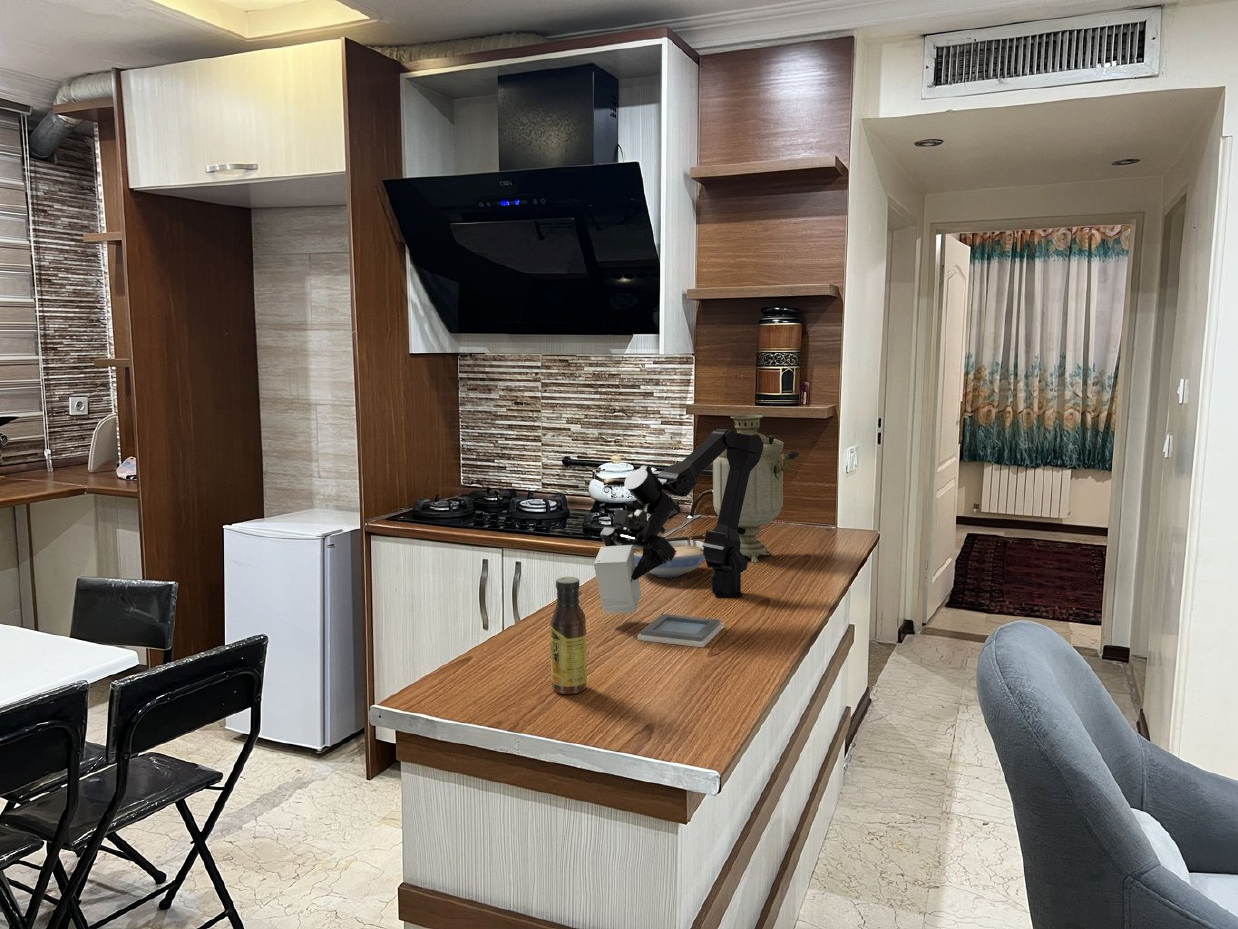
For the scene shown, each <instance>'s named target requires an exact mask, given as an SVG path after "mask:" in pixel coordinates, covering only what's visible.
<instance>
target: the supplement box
mask: <svg viewBox="0 0 1238 929" xmlns="http://www.w3.org/2000/svg"><path fill="white" fill-rule="evenodd" d="M593 568H594V571H595V577H596V578H595V579H596V582H597V587H598V592H599V597H600V598H599V599H600V602H601V608H602V611H603V614H632V613H633V614H634V613H636V612H637V608H638V604H639V601H640V598H641V596H642V589H641V584H640V579H639V578H640V577H639V578H638V579H636V580H633V579H632V578H631V576H632V574H633V572H634V570H635V568H636V561H635V556H634V551H633V545H623V546H600V548H599V551H598V553H597V555H596V558H595V560H594V562H593Z"/></svg>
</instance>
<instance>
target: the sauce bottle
mask: <svg viewBox="0 0 1238 929" xmlns="http://www.w3.org/2000/svg"><path fill="white" fill-rule="evenodd" d="M580 585H581V584H580V579H579V578H578V577H574V576H563V577H562V576H561V577H559V578H558V579H556V580H555V587H556V605H555V608H554V611H553V614H552V618H551V621H550V626H549V627H550V628H549V632H550V634H549V636H550V638H549V639H550V680H551V687H552V689H553V690H554V691H555V692H556V693H557V694H561V695H562V694H563V695H572V694H573V695H575V694H580V693H582V692H583V691H584V690H585V689H586V687H587V681H588V670H587V669H588V668H587V666H588V665H587V664H588V663H587V662H588V661H587V658H588V656H587V654H588V653H587V630H586V629H587V627H586V623H587V622H586V615H585V612H584V610H583V609H582V608H581V606H580V605H579V604H580V600H579V590H580Z"/></svg>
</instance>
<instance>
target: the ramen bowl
mask: <svg viewBox="0 0 1238 929" xmlns="http://www.w3.org/2000/svg"><path fill="white" fill-rule="evenodd" d="M666 540H667V541H668V542H669V543H670V544H671V545H672V546H673V548H674V549H675V556H674V557H673V559H672V561H671V562H668V561H666V564H662V565H660V566H658V567H656V568H654V569H652V570H651V571H649V572H648V574H652V575H653V576H655V577H658V578H667V579H668V578H678V577H680V576H682V575H684V574H686V573H689V572H693V571H695V570H696V569H697V568H698V567H700V565H702V563H703V562H704V561H706V560H705V556H704V555H703V548H704V547H702V545H703V543H704V541H701V540H705V536H704V535H702V534H699V535H688V536H680V537H671V538H670V537H669V538H666ZM633 551H634V556H635V561H636V566H637V564H638V563H639V561H640V559H641V557H642V555H643V548H639V547H634V546H633Z"/></svg>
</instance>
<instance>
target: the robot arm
mask: <svg viewBox="0 0 1238 929" xmlns="http://www.w3.org/2000/svg"><path fill="white" fill-rule="evenodd" d="M763 447H764V443H763V442H762V439H761V437H760V436H759V435H757V434H747V433H737V431H732V430H731V429H720V428H716V429H714V430H712V432H711V433H710V435H709V436H708V437H706V439H705V440H704V441H703V442H702V443H700V444H699V445H698V446H697V447H696V448H695V449H693V451H692V452H691V453H689V455H687V456H686V457H685V458H683V460H680V461H679V462H675V463H673V464H671V465H669V466H667V467H665V468H664V469H662V470H661V471H660V472H659V474H657V475H656V474H654V471H653V470H652V469H651V467H650V466H649V465H644V464H643V465H641V466H640V467H639V469H635V470H633V471H632V472H631V473H630V474H628V475H627V476H626V478H625V480H624V487H625V488H626V489H627V491H629V493H630V494H631V495H632V496H633V498H635V500H636V501H637V502H638V503H639V504H640V505H644V507H643V509H635V511H629V510H624V509H618V508H616V511H615V514H614V516H613V520H612V524H614V525H619V526H621V527H623V529H622V530H623V531H624V532H625V533H626V534H627V535H626V534H625V533H624V532H623V531H622V530H621V528H619V527H614V526H610V525H609V526H604V527H603V529H602V531H601V532H600V534H599V535H600V537H601V540H602V541H603V543H604V545H605V546H623V545H633V546H634V547H639V548H643V555H642V557H641V559H640V561H639V563H638V564H637V566H636V568H635V570H634V572H633V574H632V576H631V578H632V579H633V580H636V579H638V578H641V577H643V576H644V575H646V574H648V573H649V571H651V570H652V569H654V568H656V567H658V566H660V565H662V564H666V561H668V562H671V561H672V559H673V557H674V556H675V549H674V548H673V546H672V545H671V544H670V543H669V542H668V541H667V540H666V539H667V538H666V537H664V536H661V535H659V534H664V533H665V532H666V529H665V527H664V526H665V525H666V523H667V521H668V519H669V517H670V516H671V514H673V513H675V514H681V513H682V509H681V506H680V501H679V500H674V499H673V497H672V496H674V497H681V498H682V497H683V498H685V497H687V496H688V495H689V494H690V493H691V492H692V490H693V489H694V488H695V487H696V486H697V483H698V478H699V476H700V474H702V473H703V472H704V471H705V470H706V468H708V467H709V466H711V465H710V464H711V463H712V462H713V461H714V460H715V459H716V458H717V457H718V456H719V455H720V454H722V453H723V452H724V451H725V450H727V452H726V457H727V460H728V463H729V466H730V468H729V473H728V478H727V482H726V486H725V491H724V495H723V500H722V504H721V508H720V513H719V516H718V518H717V522H716V525H715V527H714V528H713V529H711V530H706V532H705V533H704V535H705V536H704V537H705V539H704V541H703V545H702V547H704V548H703V555H704V556H705V560H704V561H705V562H706V566H707V568H711V569H712V573H711V574H710V591H711V593H712V594H713V595H714V597H715V598H729V597H730V598H735V597H739V598H740V597H743V593H742V591H741V590H742V589H741V588H742V584H741V583H742V577H741V576H742V573H744V571H747V569H748V564H749V561H748V559H747V558H746V557H745V555H742V553H741V552H740V546H741V541H740V538H739V535H738V531H737V528H738V524H739V519H740V515H741V510H742V506H743V501H744V497H745V492H746V488H747V483H748V479H749V475H750V471H751V470H752V469H753V468H754V467H755V466H756V465H757V463H758V462H759V460H760V457H761V454H762V451H763ZM605 546H604V547H605Z"/></svg>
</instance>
